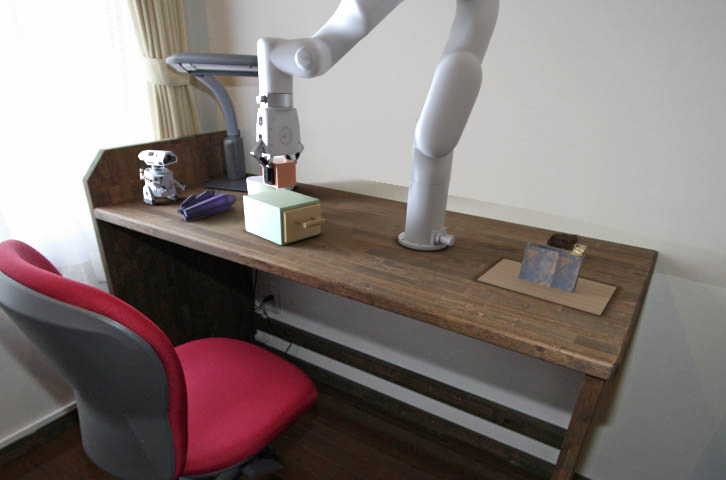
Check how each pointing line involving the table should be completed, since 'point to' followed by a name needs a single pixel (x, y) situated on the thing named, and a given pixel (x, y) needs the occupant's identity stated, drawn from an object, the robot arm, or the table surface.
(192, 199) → the crystal
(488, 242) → the table surface
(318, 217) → the drawer
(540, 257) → the ruin model on sheet
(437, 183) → the robot arm
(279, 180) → the plain salmon cube
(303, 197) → the cabinet
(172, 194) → the figurine
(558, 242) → the rock sample
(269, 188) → the white cup
